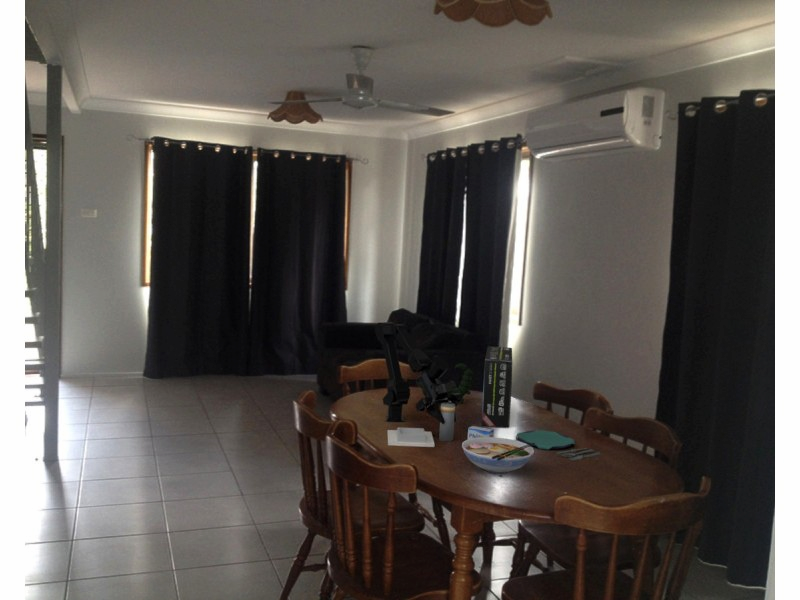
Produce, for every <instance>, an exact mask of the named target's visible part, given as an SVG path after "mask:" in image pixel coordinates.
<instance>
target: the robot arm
mask: <svg viewBox="0 0 800 600" xmlns="http://www.w3.org/2000/svg"><path fill="white" fill-rule="evenodd" d="M374 332H375V335H376V338H377V341H378V342H379V343H380V345H382V349H383V354H384V360H385V364H386V369H387V373H388V379H389V381H388V386H387V388H386V389H387V391H386V392H387V393H386V394H385V396H384V397H383V398H382V403H383V405H385V406H387V416H386V417H385V418H386V422H399V423H401V422H402V423H403V422H404V416H403V405H408V403H409V400H410V397H411V389H410V383H409V381H408V380H404V379H403V376H402V371H401V366H400V362H399V361H400V360H399V356H398V351H397V347H396V340H397V341H398V343H399V345H400V346H401V348H402V349H403V351H404V353H405V354H406V355H407V364H408V366H409V368H410V370H411V372H412V373H414V374H415V373H416V374H417V373H421V374H420V375H419V374H418V375H417V377H416V380H415V382H416V383H421V384H422V386H423V388H424V390H425V392H424V395H425V396H426V395H427V396H428V397H425V396H424V395H423V396H424V397H421V398H420V399H419V401H418V402H417V403H416V404H415V409H416V411H417V413H425V414H428V415H430V416H431V417H433V418H434V419H435V420H437V421H438V422H439V423H440V422H441V423H442V424H444V423H445V421H444V418H443V416H442V414H441V408H440V406H441V403H444V402H448V403H454V404H455V408H456V407H457V406H458V405H459V404H460V403H462V402H461V401H462V400H463V398H464V396H463V397H462V395H461V394H460V393H456V394H452V395H451V396H450V397H449V398H446V396H448V395H449V394H448V393H450V392H454V389H457V384H456V382H455V381H454V380H450V381H448V382H446V383H442V384H439V383H438V381H437V379H438V380H440V378H441V377H442V376H443V375H444V374H445V373H446V372H447V370H448V369H449V364H448V363H449V362H448V361H446V360H445V359H444V358H442V357H441V356H440V355H433V358H432V359H430V357H429V356H428V355H427V354H426V353H425V352H423V351H422V350H420V349H419V347H418V346H417V344H416V343H415V340H414V339H413V338H412V336H411V335H410V333H409V332H408V330H407V327H406V325H404V324H403V323H402V324H400V323H399V324H396V323H394V322H393V321H387V322H384V321H383V322H378V323H377V324H376V325H375V326H374ZM416 383H415V384H416ZM456 422H457V416H456V413H455V415H454V423H456Z"/></svg>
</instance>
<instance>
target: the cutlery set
mask: <svg viewBox="0 0 800 600" xmlns="http://www.w3.org/2000/svg"><path fill="white" fill-rule="evenodd" d="M515 440H518V441H519V442H522V443H525V444H531V443H533V444H534V443H536V444H534V445H532V444H531V447H535V448H536V447H537V448H538V449H540V450H550V449H555V450H557V449H564V448H568V447H571V446H572V445H573V447H575V445H576V444H575V443H576V442H575V438H571V437H569V436H567V435H565V434H561V433H558V432H556V431H549V430H543V429H542V430H541V429H537V430H527V431H523V432H517V434H516V436H515ZM578 451H580V452H578ZM574 452H575V453H574ZM594 452H595V450H594V449H588V447H585V448H578V449H575V448H573V449H570V450H565V451H558V452H556V453H555V454H556V455H561V456H562V457H564V458H567V456H569V460H570V461H577V460H583V459H584V458H592V457H596V456H597V457H598V456H601V455H602V452H600V451H598V452H595V453H594ZM586 453H590V454H588V455H583V454H586ZM591 453H592V454H591Z"/></svg>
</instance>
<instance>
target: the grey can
mask: <svg viewBox="0 0 800 600" xmlns="http://www.w3.org/2000/svg"><path fill="white" fill-rule="evenodd" d="M440 412H441V414H442V416H443V418H444V421H445V423H444V424H442V423H441V422H439V435H438V437H439V438H438V440H439V441H440V442H441V441H442V442H446V441H449V442H453V441H452V440H454V433H455V432H454V430H455V422H454V415H455V414H456V407H455V404H454V403H448V402H444V403H441V405H440Z"/></svg>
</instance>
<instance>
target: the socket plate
mask: <svg viewBox="0 0 800 600" xmlns="http://www.w3.org/2000/svg"><path fill="white" fill-rule="evenodd" d="M387 446H399V447H423V448H424V447H426V448H435V440H434V436H433V434H432V431H425V429H424V428H423V427H422V428H421V427H396V429H394V430H393V429H387Z"/></svg>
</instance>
